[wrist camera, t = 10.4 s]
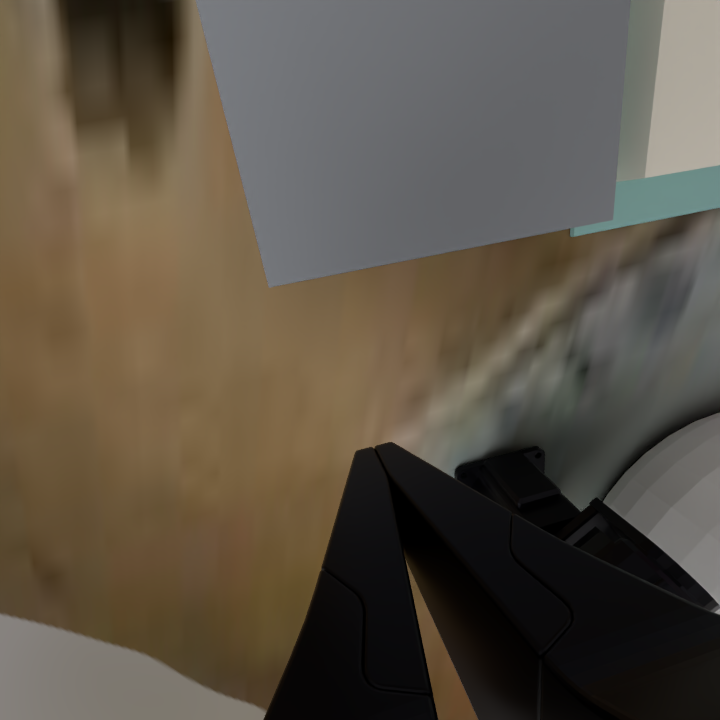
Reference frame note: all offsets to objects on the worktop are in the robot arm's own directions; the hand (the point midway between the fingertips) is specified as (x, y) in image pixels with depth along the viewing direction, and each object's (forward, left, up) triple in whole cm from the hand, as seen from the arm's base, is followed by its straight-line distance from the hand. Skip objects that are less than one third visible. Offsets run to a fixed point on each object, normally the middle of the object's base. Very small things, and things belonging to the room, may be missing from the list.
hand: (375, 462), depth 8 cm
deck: (+9, -6, -13) cm, 17 cm away
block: (+9, -20, -11) cm, 25 cm away
